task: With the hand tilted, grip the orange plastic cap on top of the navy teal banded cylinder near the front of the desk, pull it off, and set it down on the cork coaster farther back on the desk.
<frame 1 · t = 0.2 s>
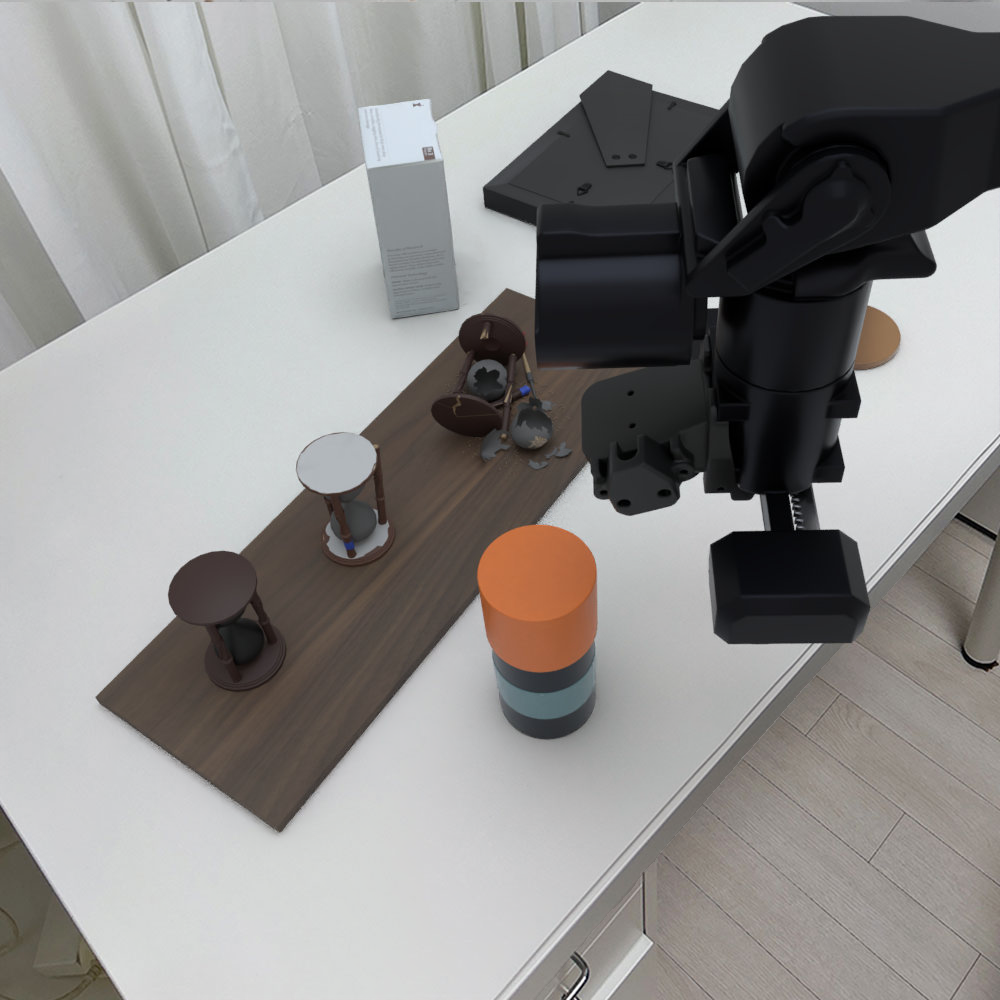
hand: (749, 566, 58), 12 cm above the table, tool pointing down, fingers open, 9 cm apart
hourglass set: (414, 516, 77), on the table
picture frame: (620, 174, 101), on the table
navy teal banded cylinder: (547, 696, 67), on the table
cap: (541, 624, 61), point 8 cm above the table, touching navy teal banded cylinder
cosmetic box: (422, 287, 93), on the table
coaster: (851, 338, 85), on the table
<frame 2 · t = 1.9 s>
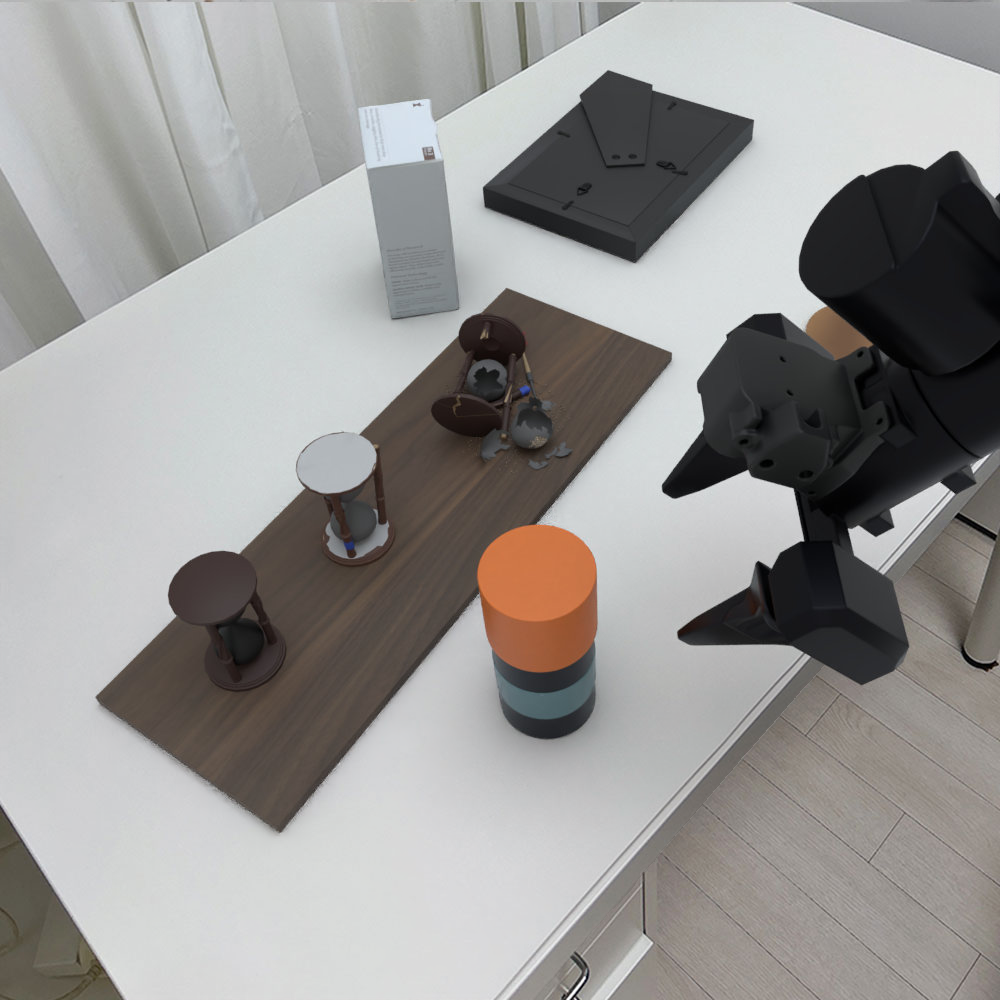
hand: (674, 562, 56), 13 cm above the table, tool tilted 45°, fingers open, 9 cm apart
nothing on the table moved.
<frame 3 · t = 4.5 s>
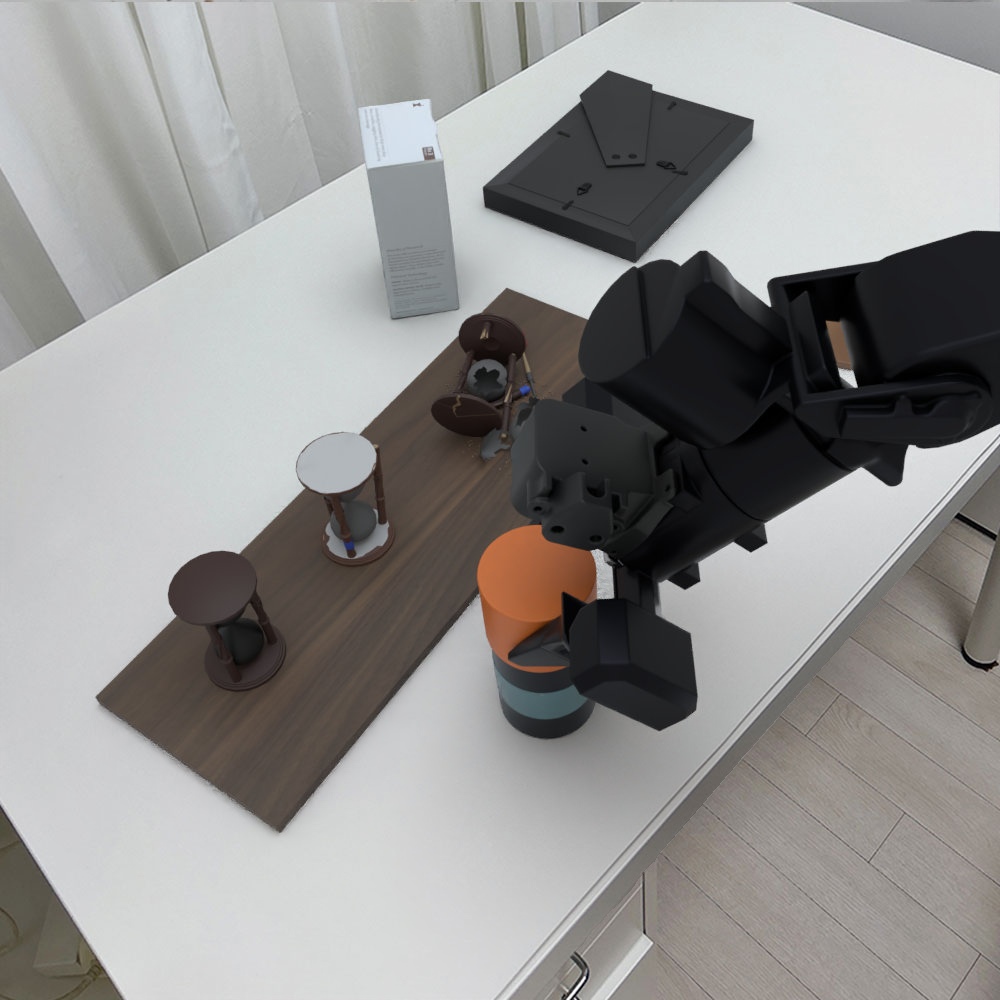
hand: (514, 608, 60), 10 cm above the table, tool tilted 45°, fingers closed on cap, 6 cm apart
cap: (541, 624, 61), point 8 cm above the table, touching gripper, navy teal banded cylinder
everything else where it was.
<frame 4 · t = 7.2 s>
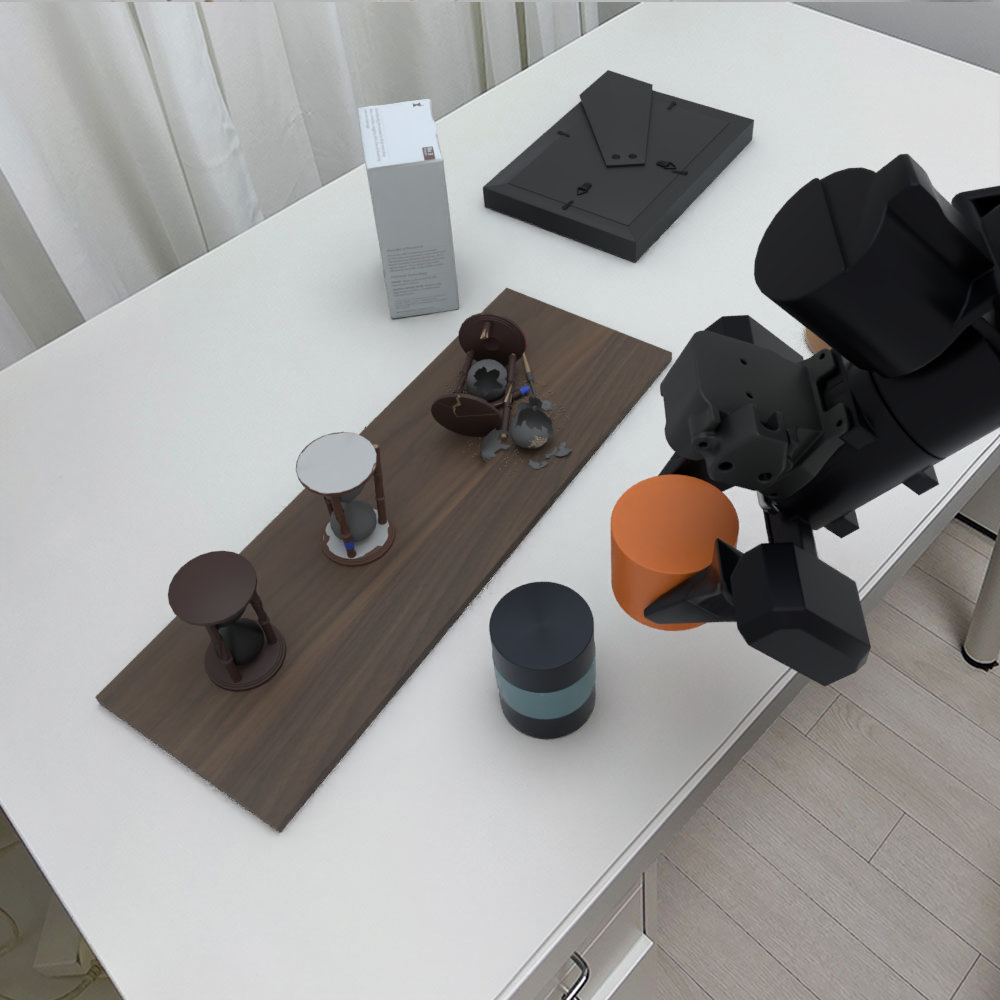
hand: (644, 564, 56), 13 cm above the table, tool tilted 45°, fingers closed on cap, 6 cm apart
cap: (670, 581, 58), point 12 cm above the table, touching gripper
everything else where it was.
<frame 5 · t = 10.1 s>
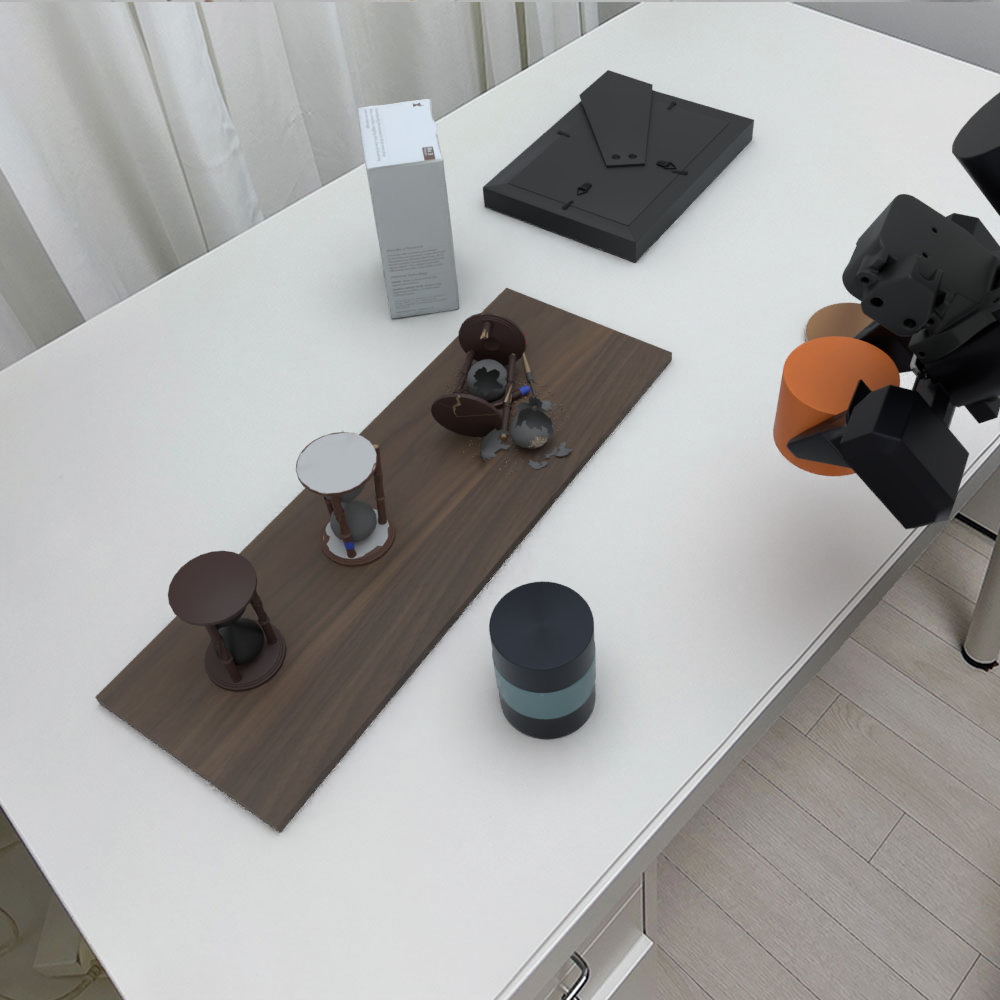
hand: (808, 410, 63), 13 cm above the table, tool tilted 45°, fingers closed on cap, 6 cm apart
cap: (827, 436, 64), point 11 cm above the table, touching gripper
everything else where it was.
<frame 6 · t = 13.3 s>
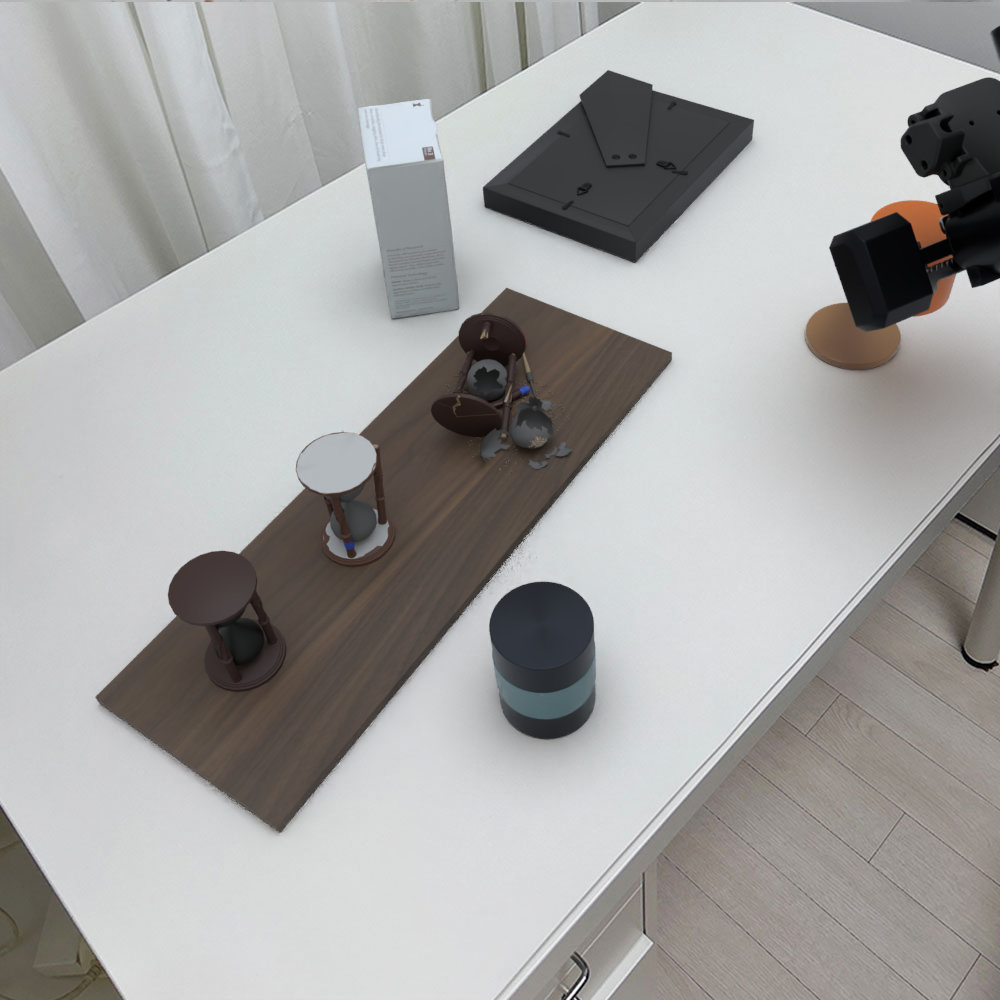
hand: (895, 258, 76), 9 cm above the table, tool tilted 45°, fingers closed on cap, 6 cm apart
cap: (903, 287, 77), point 8 cm above the table, touching gripper
everything else where it was.
when the fingers open (3 cm above the table, at t = 16.1 s): cap stays where it is, resting on coaster.
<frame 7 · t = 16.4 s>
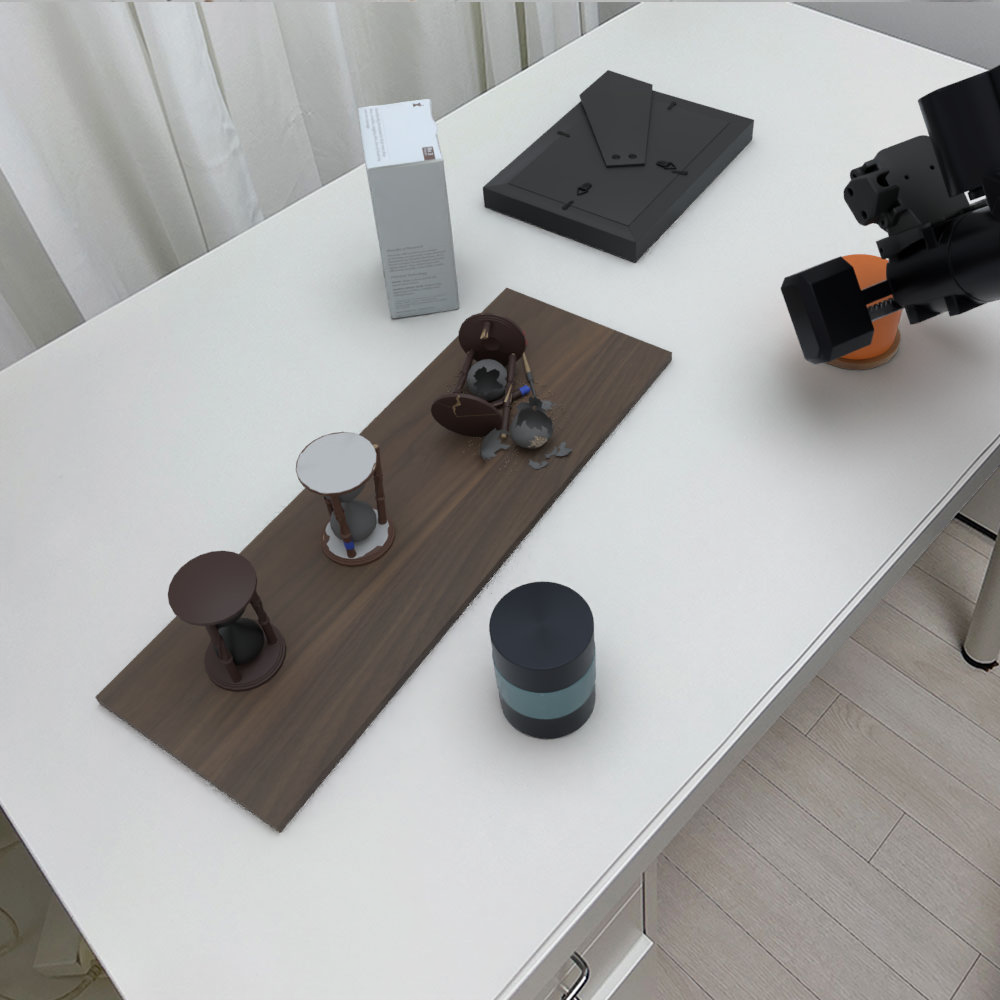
hand: (847, 294, 83), 3 cm above the table, tool tilted 45°, fingers open, 9 cm apart
cap: (852, 332, 84), point 1 cm above the table, touching coaster
everything else where it was.
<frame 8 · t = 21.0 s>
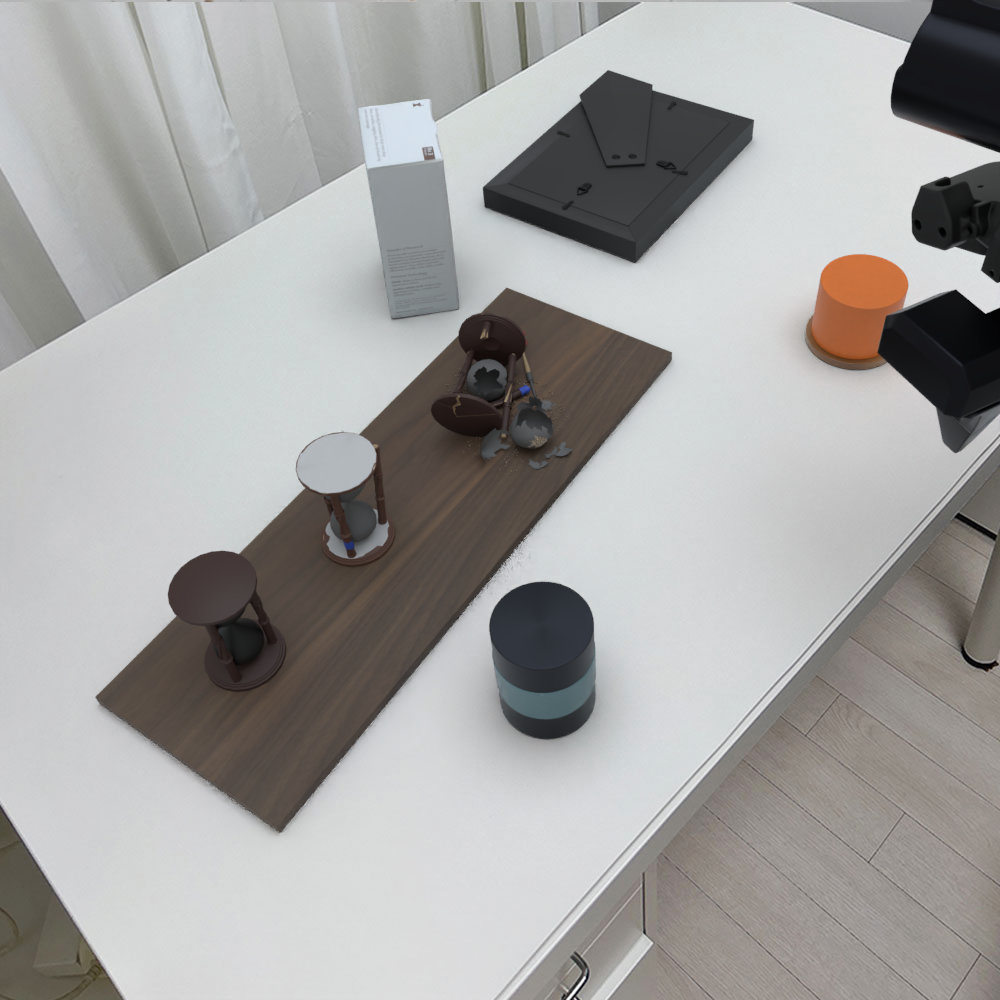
nothing on the table moved.
at the end: cap 0.0 cm off-centre on the coaster, point 0.6 cm above the coaster's base; cap tilted 0°; the gripper is holding nothing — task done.
